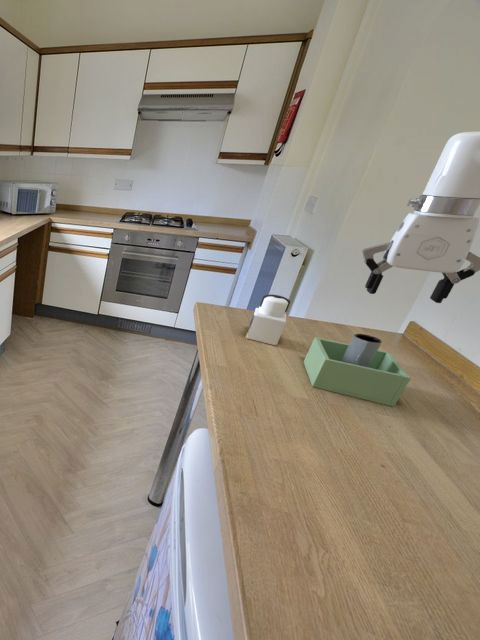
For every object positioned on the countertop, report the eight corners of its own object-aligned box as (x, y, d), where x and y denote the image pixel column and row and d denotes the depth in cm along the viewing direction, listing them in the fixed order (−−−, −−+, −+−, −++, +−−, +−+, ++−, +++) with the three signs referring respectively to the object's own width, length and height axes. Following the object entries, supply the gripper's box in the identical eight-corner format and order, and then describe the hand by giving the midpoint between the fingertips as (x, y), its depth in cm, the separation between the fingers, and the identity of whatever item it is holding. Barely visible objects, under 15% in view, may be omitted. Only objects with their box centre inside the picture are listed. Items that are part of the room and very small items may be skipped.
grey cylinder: (329, 376, 92) (349, 335, 88) (340, 373, 94) (361, 332, 90) (352, 386, 89) (375, 343, 84) (364, 382, 90) (386, 340, 86)
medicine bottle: (247, 330, 117) (262, 290, 112) (277, 337, 113) (294, 296, 108) (245, 338, 112) (260, 297, 107) (276, 346, 108) (294, 303, 103)
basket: (375, 378, 94) (389, 352, 91) (394, 406, 84) (411, 378, 81) (303, 362, 100) (314, 337, 97) (312, 386, 90) (325, 359, 87)
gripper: (389, 205, 76) (350, 293, 83) (527, 213, 68) (471, 310, 75) (378, 202, 81) (342, 284, 89) (503, 209, 74) (453, 299, 81)
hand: (401, 296), depth 82 cm, fingers open, 9 cm apart
